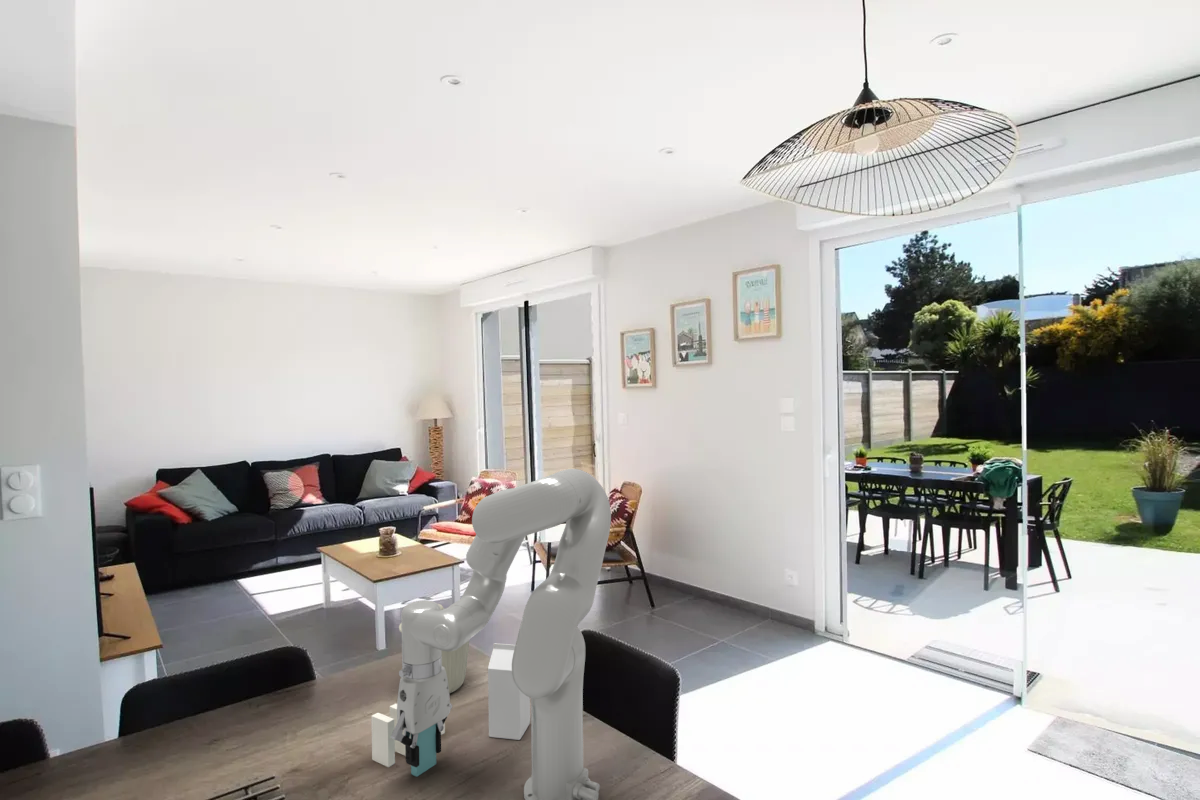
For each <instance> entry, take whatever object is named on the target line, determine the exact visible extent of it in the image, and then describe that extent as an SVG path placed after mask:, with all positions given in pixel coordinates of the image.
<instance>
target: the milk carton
mask: <svg viewBox="0 0 1200 800" xmlns="http://www.w3.org/2000/svg"><path fill="white" fill-rule="evenodd" d="M515 645H516V644H509V643H495V642H494V643H493V647H492V648H493V649H492V651H491V656H490V659H489V663H488V667H487V688H488V689H487V692H488V693H487V696H488V697H487V699H488V704H487V705H488V706H487V707H488V737H490V738H497V739H505V740H506V739H507V740H518V741H520V740H521V739H522V737H523V736H524V734H525V732H526V730H527V729H528V727H529V726H530V724H531V698H530V697H528V696H526V695H524V694H523V693H522V692H521V691H520V690H519V689H518V687H517V686H516V684H515V682H514V679H513V676H512V658H513V653H514V649H515Z"/></svg>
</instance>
